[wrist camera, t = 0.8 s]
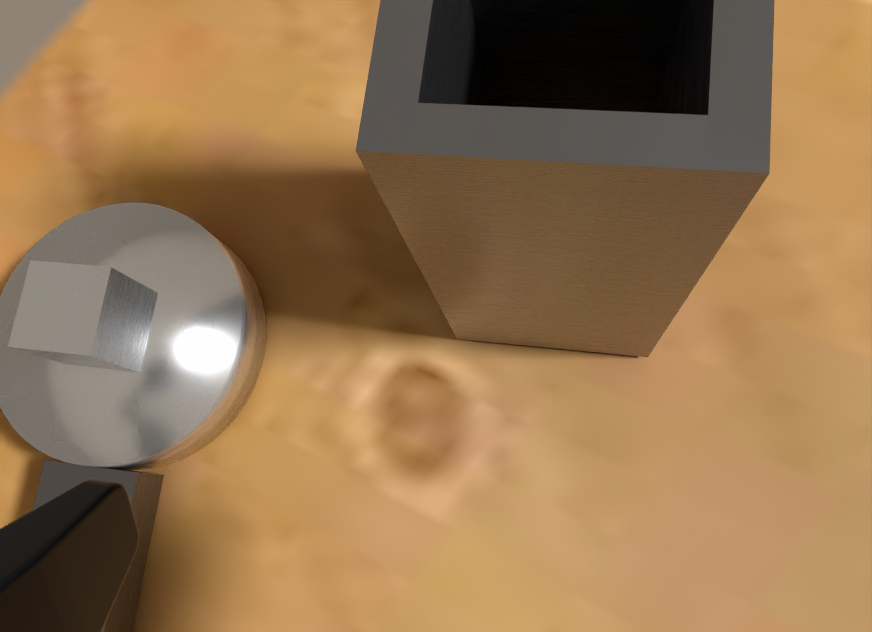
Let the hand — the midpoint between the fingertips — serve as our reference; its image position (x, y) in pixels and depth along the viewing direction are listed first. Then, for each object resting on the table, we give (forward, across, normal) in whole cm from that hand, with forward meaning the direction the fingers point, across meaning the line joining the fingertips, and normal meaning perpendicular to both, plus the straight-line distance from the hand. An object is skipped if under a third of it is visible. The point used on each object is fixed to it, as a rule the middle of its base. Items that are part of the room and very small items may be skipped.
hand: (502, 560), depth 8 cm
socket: (+15, 0, +4) cm, 16 cm away
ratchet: (+9, +13, +10) cm, 18 cm away
